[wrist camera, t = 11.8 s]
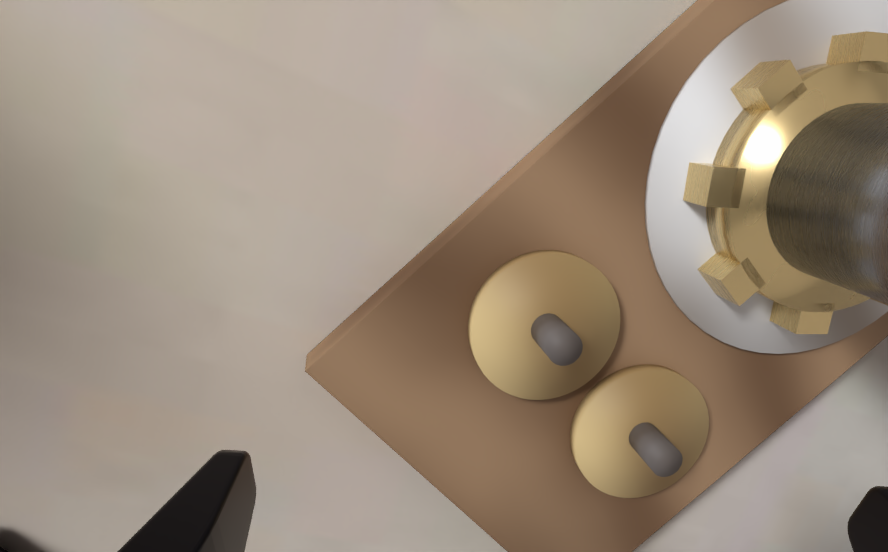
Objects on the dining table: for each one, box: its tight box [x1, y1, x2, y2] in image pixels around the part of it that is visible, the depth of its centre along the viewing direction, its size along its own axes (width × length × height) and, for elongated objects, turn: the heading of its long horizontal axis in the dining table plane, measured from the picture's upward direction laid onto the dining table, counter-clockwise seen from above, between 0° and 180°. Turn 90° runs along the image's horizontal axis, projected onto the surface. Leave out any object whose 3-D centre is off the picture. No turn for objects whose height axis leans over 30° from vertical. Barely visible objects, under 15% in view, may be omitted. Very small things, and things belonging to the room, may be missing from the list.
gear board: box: [305, 0, 888, 552], centre depth 19 cm, size 22×13×3 cm, turn 131°
